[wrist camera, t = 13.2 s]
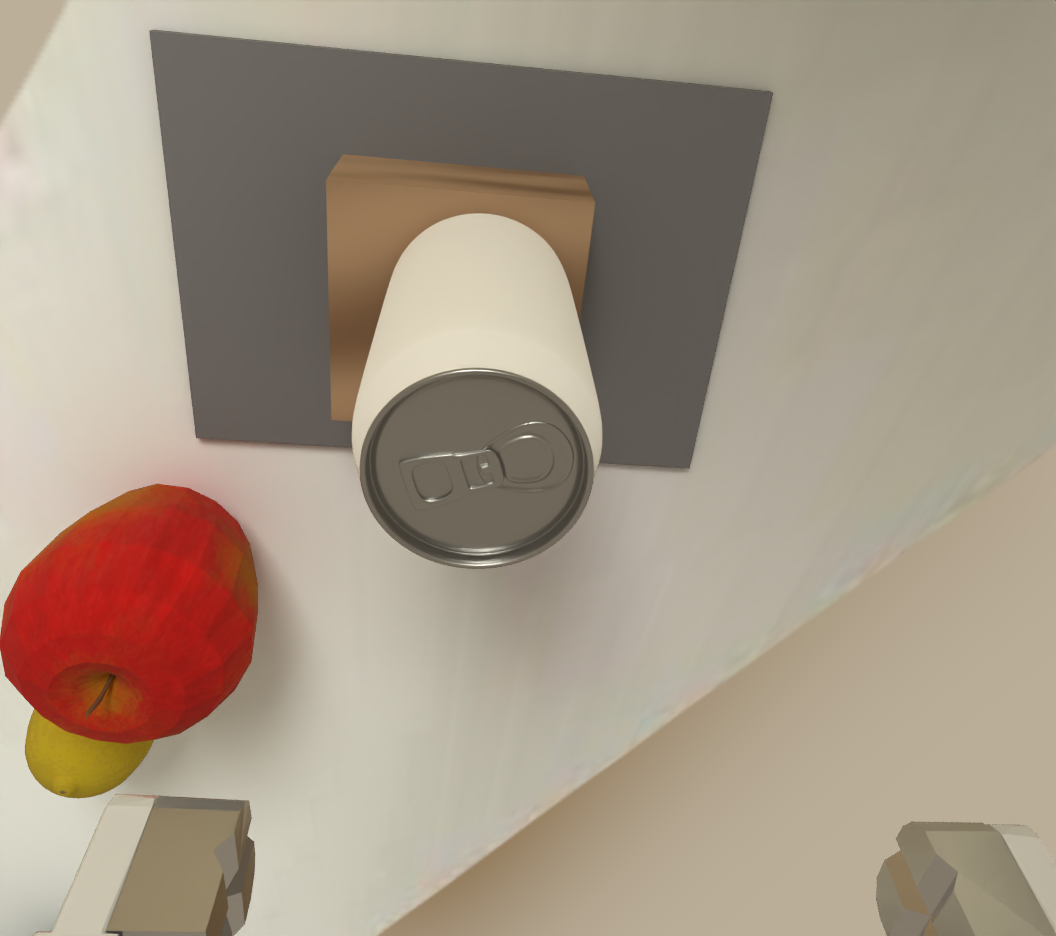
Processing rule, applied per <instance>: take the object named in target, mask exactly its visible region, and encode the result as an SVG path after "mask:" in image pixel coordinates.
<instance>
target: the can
mask: <svg viewBox="0 0 1056 936" xmlns="http://www.w3.org/2000/svg"><path fill="white" fill-rule="evenodd" d="M352 448H353V454H354V459H355V462H356V466H357V469H358V471H359V474H360V481H361V486H362V490H363V494H364V497H365V500H366V502H367V504H368V506H369V508H370V510H371V512H372V514H373V515H374V517H375V519H376V520H377V521H378V523H379V524H380V525H381V526H382V528H383V529H384V530H385V531H386V532H387V533H388V534H389V535H390V536H391V537H392V538H393V539H394V540H396V541H397V542H398V543H399V544H401V545H402V546H404V547H405V548H407V549H408V550H410V551H412V552H413V553H415V554H417V555H419V556H421V557H423V558H426V559H428V560H431V561H434V562H437V563H440V564H444V565H448V566H453V567H459V568H470V569H485V568H495V567H502V566H507V565H511V564H514V563H518V562H521V561H524V560H526V559H529V558H531V557H533V556H535V555H537V554H539V553H541V552H543V551H544V550H546V549H548V548H549V547H551V546H552V545H553V544H555V543H556V542H557V541H559V540H560V539H561V538H562V537H563V536H564V535H565V534H566V533H567V532H568V531H569V530H570V529H571V528H572V527H573V525H574V524H575V523H576V521H577V520H578V518H579V517H580V515H581V514H582V512H583V510H584V508H585V506H586V504H587V501H588V499H589V496H590V493H591V489H592V484H593V478H594V476H595V473H596V471H597V468H598V464H599V461H600V456H601V450H602V420H601V414H600V408H599V403H598V398H597V394H596V389H595V385H594V381H593V377H592V372H591V368H590V364H589V360H588V356H587V351H586V347H585V343H584V339H583V335H582V331H581V327H580V323H579V319H578V315H577V311H576V307H575V303H574V299H573V296H572V292H571V288H570V285H569V282H568V279H567V276H566V273H565V271H564V269H563V266H562V264H561V262H560V261H559V259H558V257H557V255H556V254H555V252H554V251H553V249H552V248H551V247H550V245H549V244H548V243H547V242H546V241H545V240H544V239H543V238H542V237H541V236H540V235H538V234H537V233H536V232H534V231H533V230H532V229H530V228H529V227H527V226H525V225H523V224H521V223H519V222H517V221H515V220H512V219H510V218H507V217H503V216H499V215H494V214H485V213H473V214H464V215H458V216H454V217H451V218H448V219H445V220H442V221H440V222H438V223H436V224H434V225H432V226H431V227H429V228H427V229H426V230H425V231H423V232H422V233H421V234H419V235H418V236H417V237H416V238H415V239H414V240H413V241H412V242H411V243H410V244H409V245H408V247H407V248H406V249H405V251H404V252H403V254H402V255H401V257H400V259H399V260H398V262H397V264H396V266H395V269H394V271H393V274H392V277H391V280H390V283H389V286H388V289H387V292H386V296H385V299H384V303H383V306H382V309H381V313H380V316H379V320H378V323H377V327H376V330H375V334H374V337H373V341H372V345H371V348H370V352H369V355H368V359H367V362H366V366H365V370H364V373H363V377H362V380H361V384H360V388H359V392H358V396H357V400H356V404H355V409H354V414H353V421H352Z"/></svg>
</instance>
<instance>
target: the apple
mask: <svg viewBox="0 0 1056 936" xmlns="http://www.w3.org/2000/svg"><path fill="white" fill-rule="evenodd" d="M257 615H258V584H257V578H256V573H255V568H254V563H253V558H252V553H251V548H250V543H249V542H248V540H247V538H246V536H245V534H244V532H243V531H242V529H241V527H240V525H239V523H238V522H237V521H236V520H235V519H234V518H233V517H232V516H231V515H230V514H229V513H228V512H227V511H226V510H225V509H224V508H223V507H222V506H220V505H219V504H218V503H217V502H216V501H214V500H212V499H210V498H208V497H206V496H204V495H202V494H200V493H198V492H196V491H193V490H191V489H189V488H184V487H177V486H170V485H162V484H155V485H151V486H147V487H143V488H140V489H136V490H132V491H129V492H127V493H125V494H123V495H121V496H119V497H117V498H115V499H113V500H111V501H110V502H108V503H106V504H104V505H102V506H100V507H98V508H96V509H94V510H92V511H90V512H89V513H88V514H86V515H85V516H83V517H82V518H81V519H79V520H78V521H76V522H75V523H74V524H72V525H71V526H69V527H68V528H67V529H65V530H64V531H62V532H61V533H60V534H59V535H58V536H57V537H56V538H55V539H54V540H53V541H52V542H51V543H50V544H49V545H48V546H47V547H46V548H45V549H44V550H42V551H41V552H40V553H39V554H38V555H37V556H36V557H35V558H34V559H33V560H32V561H31V562H30V563H29V564H28V565H27V566H26V567H25V568H24V569H23V570H22V571H21V572H20V574H19V576H18V578H17V580H16V582H15V584H14V586H13V588H12V590H11V592H10V594H9V596H8V598H7V600H6V602H5V604H4V612H3V620H2V627H1V635H0V650H1V656H2V661H3V666H4V671H5V676H6V677H7V678H8V679H9V681H10V682H11V683H12V684H13V685H14V686H15V687H16V689H17V690H18V691H19V692H20V693H21V694H22V695H23V697H24V698H25V699H26V700H27V701H28V702H29V703H30V704H31V705H32V706H33V707H34V709H35V710H36V711H37V712H38V713H39V714H40V715H41V716H42V717H44V718H45V719H47V720H49V721H50V722H52V723H53V724H55V725H56V726H58V727H60V728H61V729H63V730H64V731H66V732H69V733H73V734H76V735H80V736H83V737H86V738H90V739H93V740H98V741H106V742H114V743H123V744H129V743H136V742H143V741H150V740H155V739H159V738H164V737H168V736H172V735H176V734H180V733H181V732H183V731H185V730H186V729H188V728H190V727H191V726H193V725H194V724H196V723H198V722H199V721H201V720H202V719H204V718H206V717H207V716H208V715H209V714H210V713H211V712H212V711H213V710H214V709H216V708H217V707H218V706H219V705H220V704H221V703H222V702H223V701H224V700H225V699H226V698H227V697H228V696H229V695H230V694H231V693H232V692H233V691H234V690H235V689H236V687H237V685H238V684H239V682H240V680H241V678H242V677H243V675H244V673H245V672H246V670H247V668H248V667H249V665H250V663H251V660H252V652H253V645H254V637H255V630H256V622H257Z"/></svg>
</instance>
